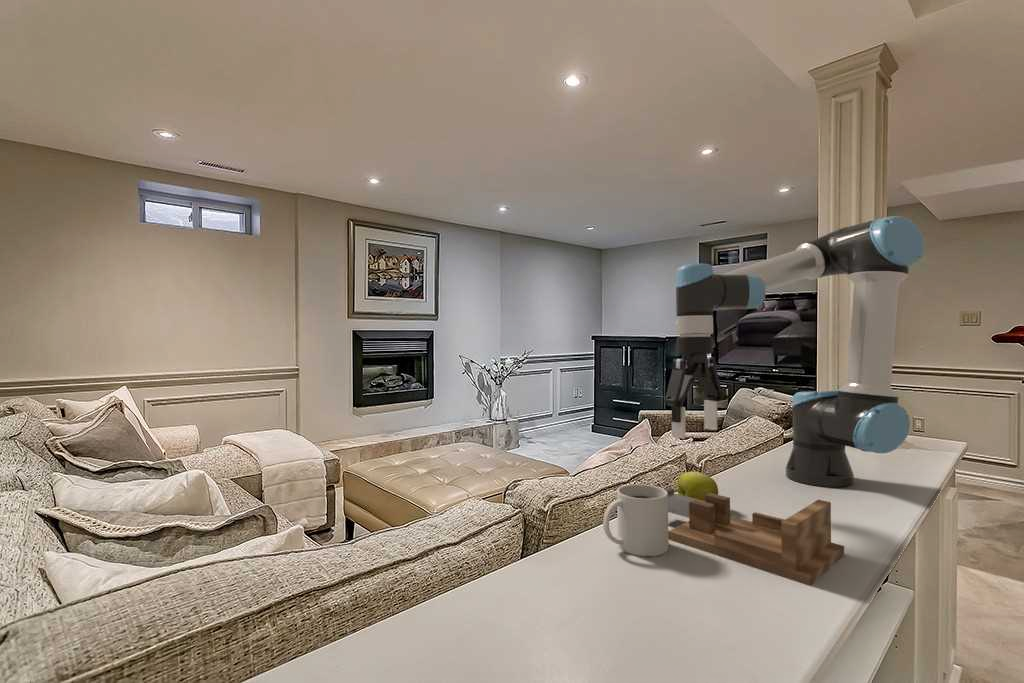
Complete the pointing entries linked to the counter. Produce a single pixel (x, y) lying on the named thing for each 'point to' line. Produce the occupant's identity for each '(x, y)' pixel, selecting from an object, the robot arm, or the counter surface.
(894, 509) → the counter surface
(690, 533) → the cradle
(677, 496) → the shaft
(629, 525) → the mug
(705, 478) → the apple
